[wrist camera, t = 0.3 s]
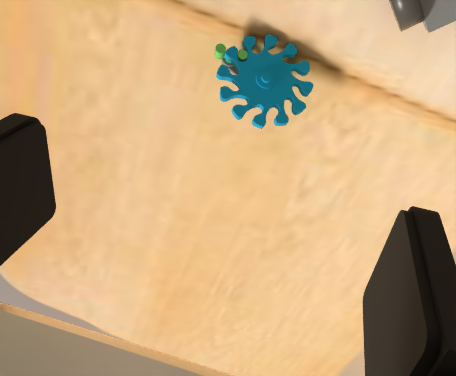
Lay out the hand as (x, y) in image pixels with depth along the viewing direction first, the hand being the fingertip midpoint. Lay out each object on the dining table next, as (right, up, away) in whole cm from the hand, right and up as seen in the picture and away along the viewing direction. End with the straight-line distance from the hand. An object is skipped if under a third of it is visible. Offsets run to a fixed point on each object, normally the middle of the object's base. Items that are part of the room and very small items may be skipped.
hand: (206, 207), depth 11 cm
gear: (+5, +14, +35) cm, 38 cm away
